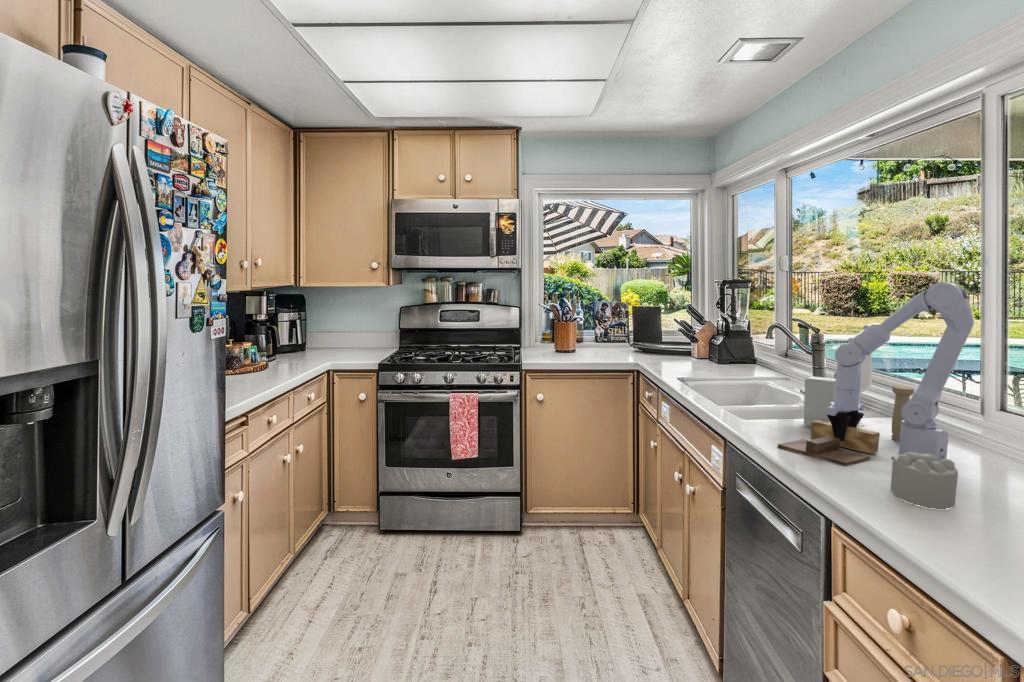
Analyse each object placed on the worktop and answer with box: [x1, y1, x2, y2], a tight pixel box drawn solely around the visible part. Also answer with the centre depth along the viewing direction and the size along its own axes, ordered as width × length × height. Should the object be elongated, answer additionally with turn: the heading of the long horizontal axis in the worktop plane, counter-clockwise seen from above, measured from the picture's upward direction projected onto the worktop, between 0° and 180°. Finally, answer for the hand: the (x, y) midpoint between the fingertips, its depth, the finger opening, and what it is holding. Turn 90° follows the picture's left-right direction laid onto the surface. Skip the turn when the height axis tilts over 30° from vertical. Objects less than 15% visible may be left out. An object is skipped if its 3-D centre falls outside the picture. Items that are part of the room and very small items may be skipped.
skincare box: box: [803, 375, 836, 427], centre depth 185 cm, size 8×6×15 cm
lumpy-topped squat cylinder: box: [890, 452, 959, 509], centre depth 125 cm, size 10×13×9 cm
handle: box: [891, 384, 915, 441], centre depth 171 cm, size 5×6×15 cm
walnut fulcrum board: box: [777, 436, 871, 467], centre depth 157 cm, size 18×11×4 cm, turn 33°
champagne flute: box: [858, 353, 873, 425], centre depth 189 cm, size 7×7×24 cm
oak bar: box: [809, 420, 880, 454], centre depth 163 cm, size 16×4×5 cm, turn 35°
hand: (843, 439), depth 163 cm, fingers closed on oak bar, 4 cm apart
